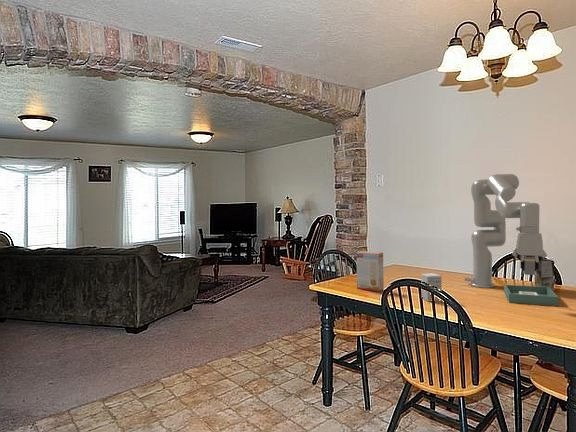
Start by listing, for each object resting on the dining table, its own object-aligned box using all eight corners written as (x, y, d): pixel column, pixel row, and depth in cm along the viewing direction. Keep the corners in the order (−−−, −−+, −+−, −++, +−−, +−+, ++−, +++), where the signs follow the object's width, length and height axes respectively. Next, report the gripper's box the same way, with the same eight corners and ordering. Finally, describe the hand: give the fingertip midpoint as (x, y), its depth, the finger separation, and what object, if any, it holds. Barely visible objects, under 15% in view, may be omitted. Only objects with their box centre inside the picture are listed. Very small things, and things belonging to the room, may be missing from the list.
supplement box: (421, 298, 206) (420, 273, 205) (435, 297, 206) (435, 272, 206) (427, 302, 198) (427, 276, 198) (442, 301, 199) (441, 275, 198)
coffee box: (554, 291, 215) (554, 260, 214) (541, 291, 216) (541, 260, 215) (547, 287, 224) (547, 258, 223) (534, 287, 225) (534, 258, 224)
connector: (524, 274, 185) (524, 255, 184) (523, 272, 188) (523, 253, 188) (534, 275, 183) (535, 255, 183) (533, 273, 187) (533, 254, 186)
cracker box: (384, 290, 225) (383, 252, 224) (378, 292, 221) (378, 253, 220) (362, 286, 235) (362, 250, 234) (356, 288, 230) (356, 251, 230)
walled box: (508, 302, 195) (508, 293, 194) (503, 292, 215) (504, 284, 215) (558, 305, 187) (558, 297, 187) (548, 295, 207) (548, 287, 207)
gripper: (509, 230, 184) (509, 270, 185) (552, 231, 178) (552, 273, 179) (507, 229, 191) (507, 268, 192) (549, 229, 185) (548, 270, 186)
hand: (529, 270), depth 186 cm, fingers closed on connector, 4 cm apart
